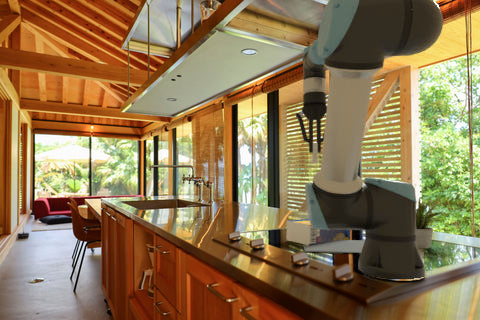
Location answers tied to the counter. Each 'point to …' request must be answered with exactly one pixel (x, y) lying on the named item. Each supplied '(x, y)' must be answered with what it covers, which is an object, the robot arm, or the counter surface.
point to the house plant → (424, 225)
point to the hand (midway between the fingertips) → (315, 162)
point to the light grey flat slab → (336, 246)
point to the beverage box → (312, 233)
